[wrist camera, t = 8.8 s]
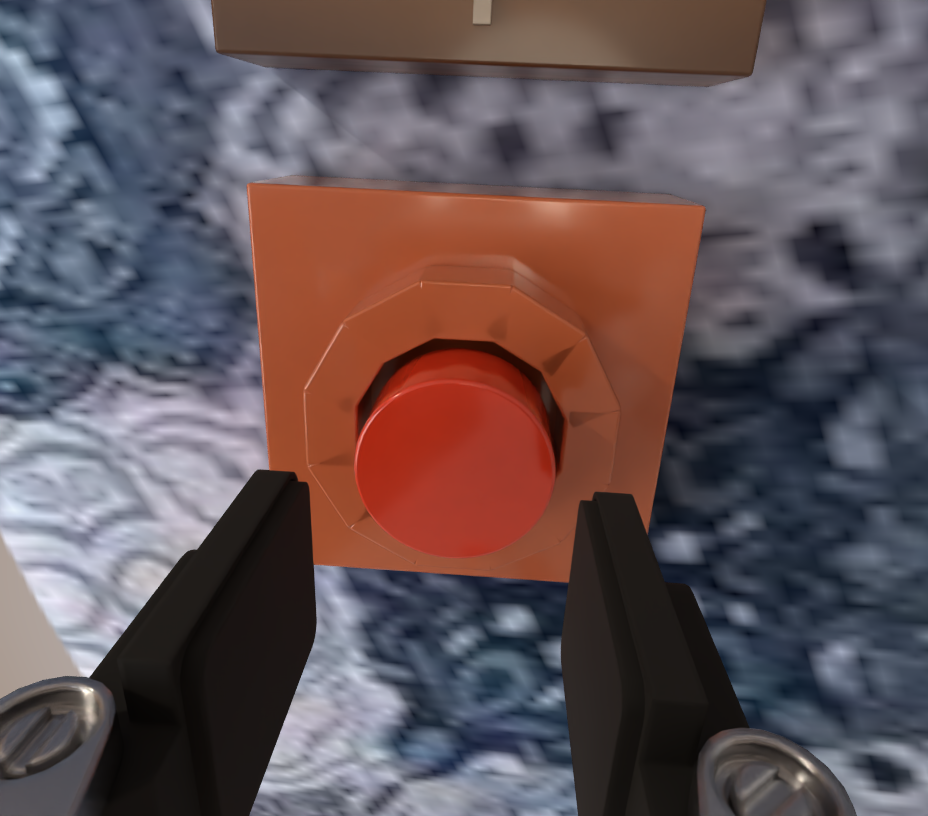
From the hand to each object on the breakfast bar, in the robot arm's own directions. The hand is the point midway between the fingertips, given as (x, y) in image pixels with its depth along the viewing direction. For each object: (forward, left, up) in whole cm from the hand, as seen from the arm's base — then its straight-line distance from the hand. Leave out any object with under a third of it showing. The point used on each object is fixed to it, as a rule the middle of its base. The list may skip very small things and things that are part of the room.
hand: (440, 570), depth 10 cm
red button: (0, 0, -5) cm, 5 cm away
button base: (0, 0, -10) cm, 10 cm away
